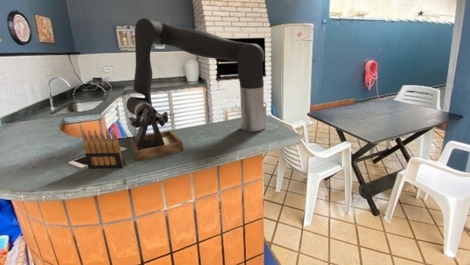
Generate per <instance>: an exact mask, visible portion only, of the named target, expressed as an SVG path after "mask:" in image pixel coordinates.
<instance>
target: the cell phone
mask: <svg viewBox="0 0 470 265" xmlns="http://www.w3.org/2000/svg"><path fill="white" fill-rule="evenodd" d="M120 149H121V150H122V152H123V151H126V150H127V149H128V148H127V147H122V146H120ZM68 164H69V165H71V166H74V167H77V168H79V169H83V168H86V167H88V166H87V161H86V156H85V155H84V156H81V157H79V158H76V159H74V160H71V161H68Z"/></svg>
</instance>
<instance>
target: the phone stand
mask: <svg viewBox="0 0 470 265" xmlns="http://www.w3.org/2000/svg"><path fill="white" fill-rule="evenodd" d="M149 109H150V110H151V111H152V112H151V115H150V116H149V115H148V116H147V114H148V113H149V112H150V111H149V110H148V109H147V108H145V109H144V111H143V113H144V117H143V119H144V121H145V123H146V124H147V129H146V130H145V126H144V128H142V127H141V126H139V127H138V129H137V130H138V131H137V133H136V136H135V137H136V138H135V140H134V141H135V143H136V145H137V147H145V146H159V145H164V141H163V139H162V136H161V133H160V132H161V131H160V128H159V126H158V125H159V124H157V123H156V114H155V112H154V111H153V110H152V109H151V108H149ZM150 121H151V124H152V125H151V127H152V131H153V133H154V135H155V140H144V139H145V135H147V132H148V131H147V130H148V127H149V126H148V124H149V122H150Z"/></svg>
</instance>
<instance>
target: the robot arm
mask: <svg viewBox="0 0 470 265" xmlns="http://www.w3.org/2000/svg"><path fill="white" fill-rule="evenodd" d="M134 45H135V46H134V47H135V48H134V49H135V70H134V71H135V72H134V77H133V78H134V79H133V85H132V86H133V91H134V92H136V93H137V94H140V95H142V96H144V97H140V96H131V97H129V98H128V99H127V101H126V109H127V111H128V113H130V114H132V115H135V117H131V116H130V117H128V120H129V125H130V126H131V127H133V128H135V129H136V128H137V129H139V127H140V126H141V127H142V128H144V126H145V130H146V129H147V130H148V128H147V124H146V123H145V121H144V119H143V117H144V113H143V111H144V109H145V108H147V109H148V110H149V111H150V112H149V113H148V114H147V116H148V115H149V116H150V115H151V112H152V111H151V110H150V109H149V108H151V109H152V110H153V111H154V112H155V114H156V123H157V125H160V126H161V127H162V128H163V127H165V125H166V124H167V123H169V115H168V112H167V111H164V112H163V113H159V112H158V111H157V110H156V108H155V107H154V106H153V103H152V102H153V101H152V95H151V89H152V84H153V83H152V82H153V69H152V62H151V51H152V46H153V45H164V46H170V47H175V48H177V49H179V50H181V51H184V52H185V53H188V54H191V55H194V56H197V57H202V58H206V59H207V58H209V59H217V60H218V59H219V60H226V61H227V60H228V61H232V62H235V63H237V73H238V74H237V75H238V81H239V93H240V94H239V96H240V126H241V130H242V131H243V132H250V133H251V132H260V131H262V130H264V129H266V127H267V125H266V123H267V122H266V121H267V117H266V114H267V112H266V110H267V107H266V105H265V103H264V102H265V101H264V100H265V98H264V90H265V89H264V83H265V80H264V76H263V74H264V73H263V71H264V70H263V69H264V68H263V66H264V64H263V62H264V60H265V56H266V55H265V51H264V49H263V48H262V47H261V46H260V44H257V43H250V42H249V43H247V42H241V41H234V40H231V39H227V38H225V37H222V36H219V35H217V34H213V33H210V32H206V31H203V30H199V29H193V28H192V29H191V28H178V27H176V26H175V27H174V26H171V25H169V24H165V23H163V22H161V21H158V20H155V19H151V18H146V17H143V18H140V19H138V20H137V22H136V23H135V25H134ZM149 126H152V124H151V121H150V122H149V124H148V127H149Z"/></svg>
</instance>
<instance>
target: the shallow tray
mask: <svg viewBox="0 0 470 265" xmlns="http://www.w3.org/2000/svg"><path fill="white" fill-rule="evenodd" d="M160 133H161V136H162V139H163V141H164V145H159V146H145V147H137V145H136V143H135V141H134V140H135V138H136V136H134V137H133V136H132V137H129V141H130V144H131V148H132V151H133V153H134V156H135V159H136V162H140V161H144V160H148V159H153V158H156V157H161V156H166V155H170V154H174V153H178V152H183V151H184V145H183V144H184V143H183V141H182V140H181V139H180V138H179V137H178V136H177V135H176V133H175V132H174V131H173V130H171V129H170V130H164V131H160ZM144 140H155V135H154V132H153V133H150V134H149V133H148V134H146V135H145V139H144Z"/></svg>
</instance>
